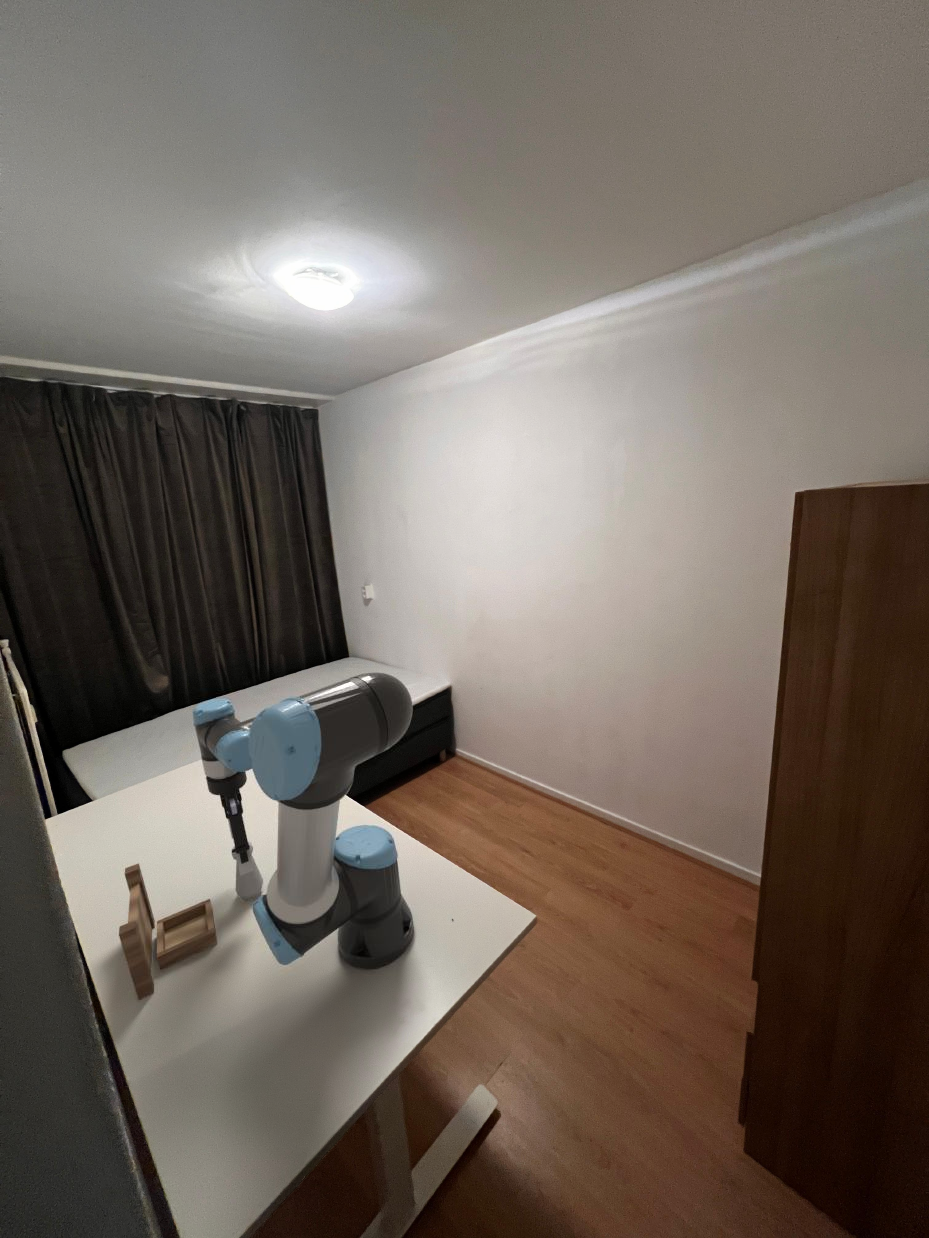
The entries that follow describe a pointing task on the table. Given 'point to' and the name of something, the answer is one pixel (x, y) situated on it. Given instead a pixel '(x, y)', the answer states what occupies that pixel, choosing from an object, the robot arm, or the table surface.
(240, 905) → the table surface
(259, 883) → the salt shaker
